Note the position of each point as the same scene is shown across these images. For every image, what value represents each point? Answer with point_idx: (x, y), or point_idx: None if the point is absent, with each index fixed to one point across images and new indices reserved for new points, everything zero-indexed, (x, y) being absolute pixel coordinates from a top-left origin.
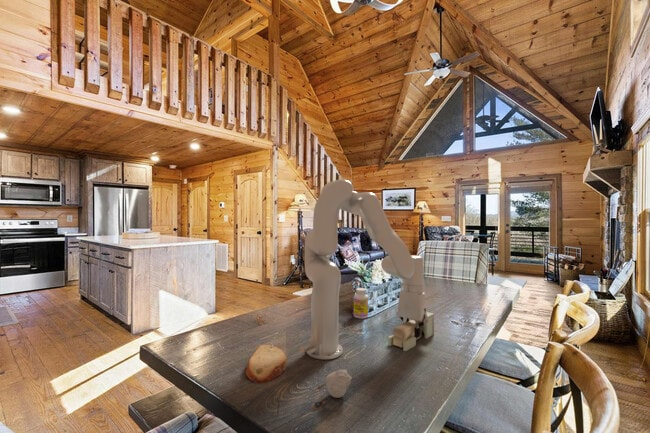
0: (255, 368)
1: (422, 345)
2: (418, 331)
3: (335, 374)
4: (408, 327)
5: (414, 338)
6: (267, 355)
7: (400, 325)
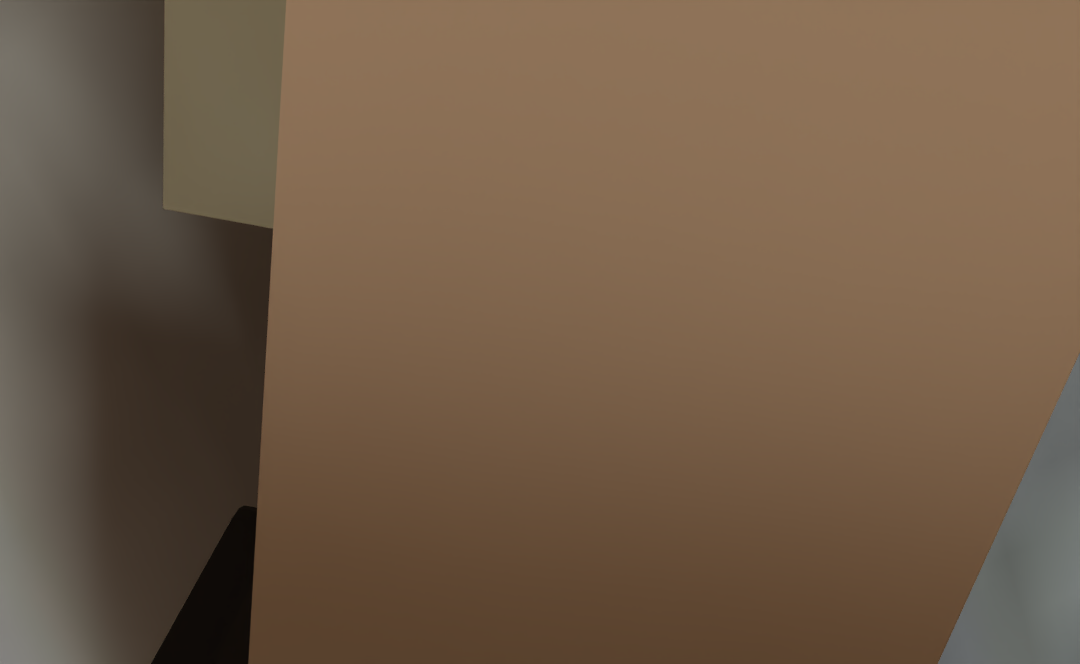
0: None
1: (121, 251)
2: (185, 616)
3: None
4: (297, 131)
5: (171, 81)
6: None
7: (1069, 178)
